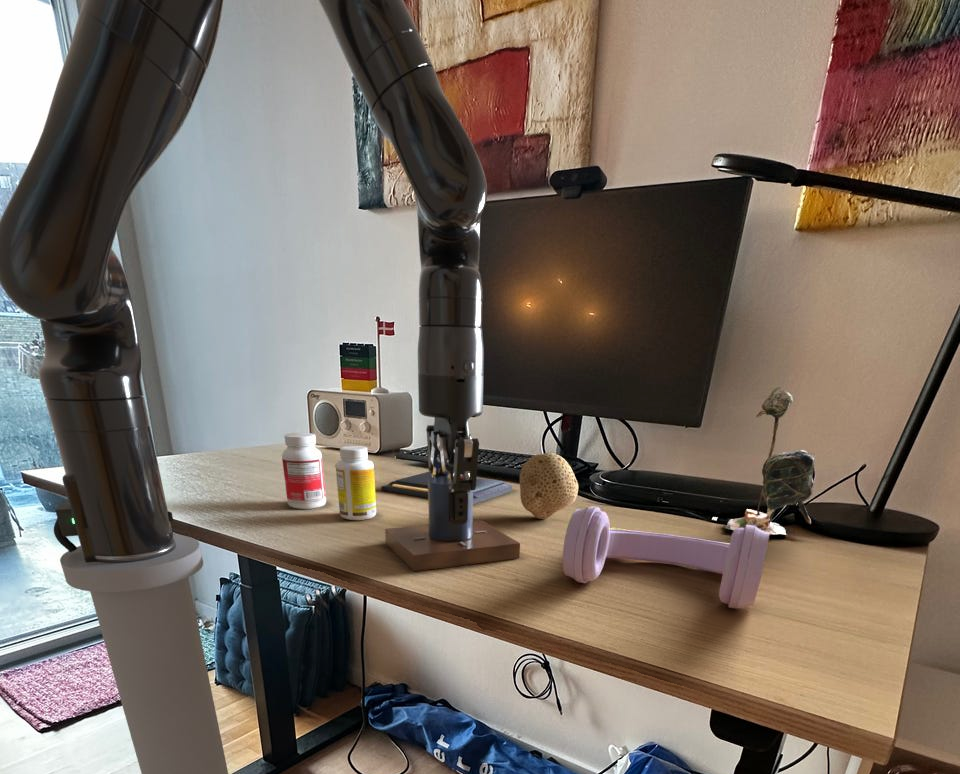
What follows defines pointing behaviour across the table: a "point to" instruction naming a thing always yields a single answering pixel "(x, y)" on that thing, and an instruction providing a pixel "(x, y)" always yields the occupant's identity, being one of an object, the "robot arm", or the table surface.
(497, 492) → the dark blue book
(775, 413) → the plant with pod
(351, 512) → the supplement bottle
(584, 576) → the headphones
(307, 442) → the pill bottle
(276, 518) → the table surface
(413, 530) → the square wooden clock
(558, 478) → the natural sponge
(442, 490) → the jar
